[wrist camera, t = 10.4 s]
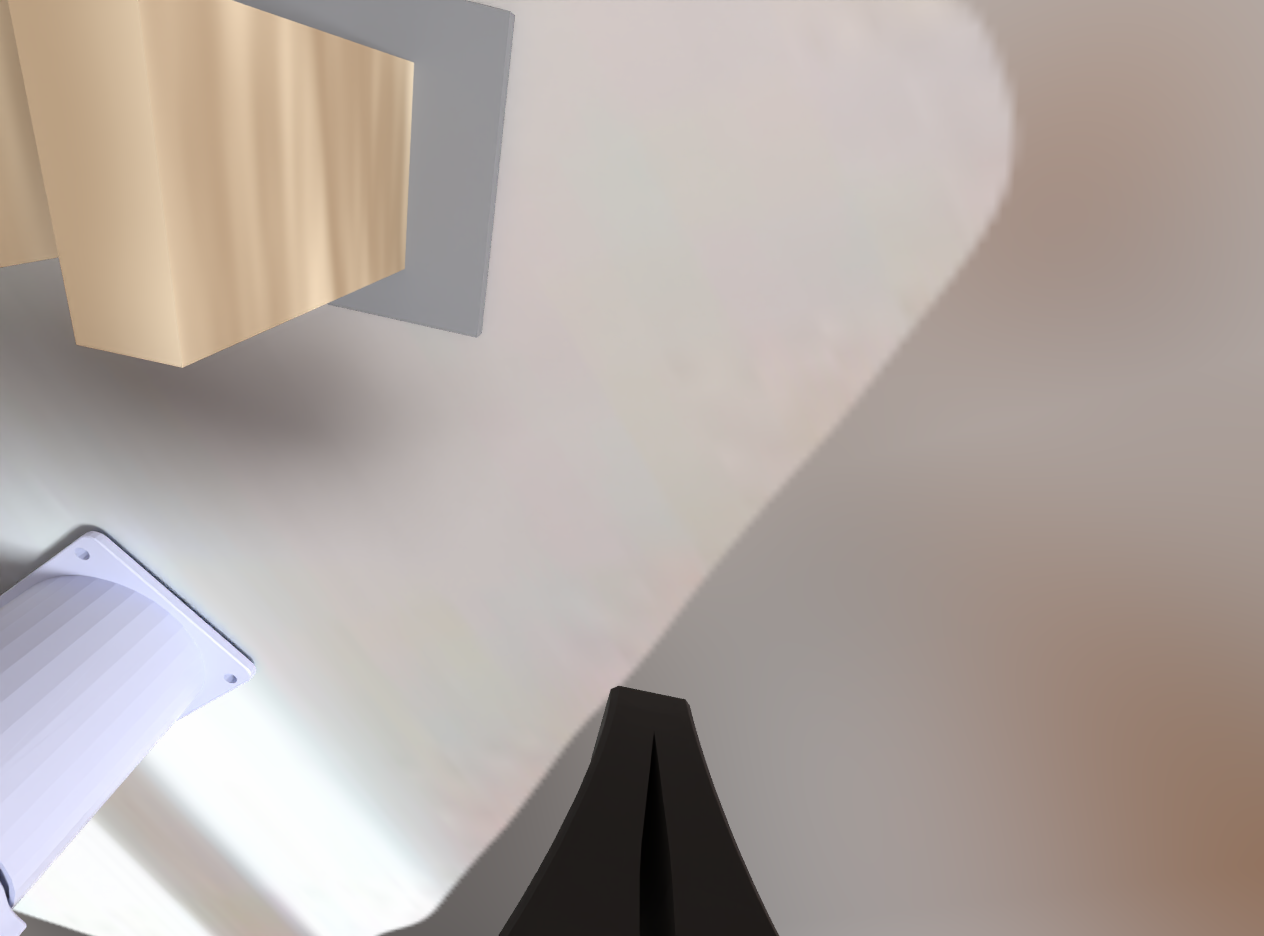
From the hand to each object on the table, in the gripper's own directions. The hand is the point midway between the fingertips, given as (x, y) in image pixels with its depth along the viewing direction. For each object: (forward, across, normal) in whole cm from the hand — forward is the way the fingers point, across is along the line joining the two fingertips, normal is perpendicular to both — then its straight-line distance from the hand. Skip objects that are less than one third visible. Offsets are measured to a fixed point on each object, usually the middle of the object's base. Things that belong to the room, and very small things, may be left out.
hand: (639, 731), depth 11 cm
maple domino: (+10, +9, -7) cm, 15 cm away
